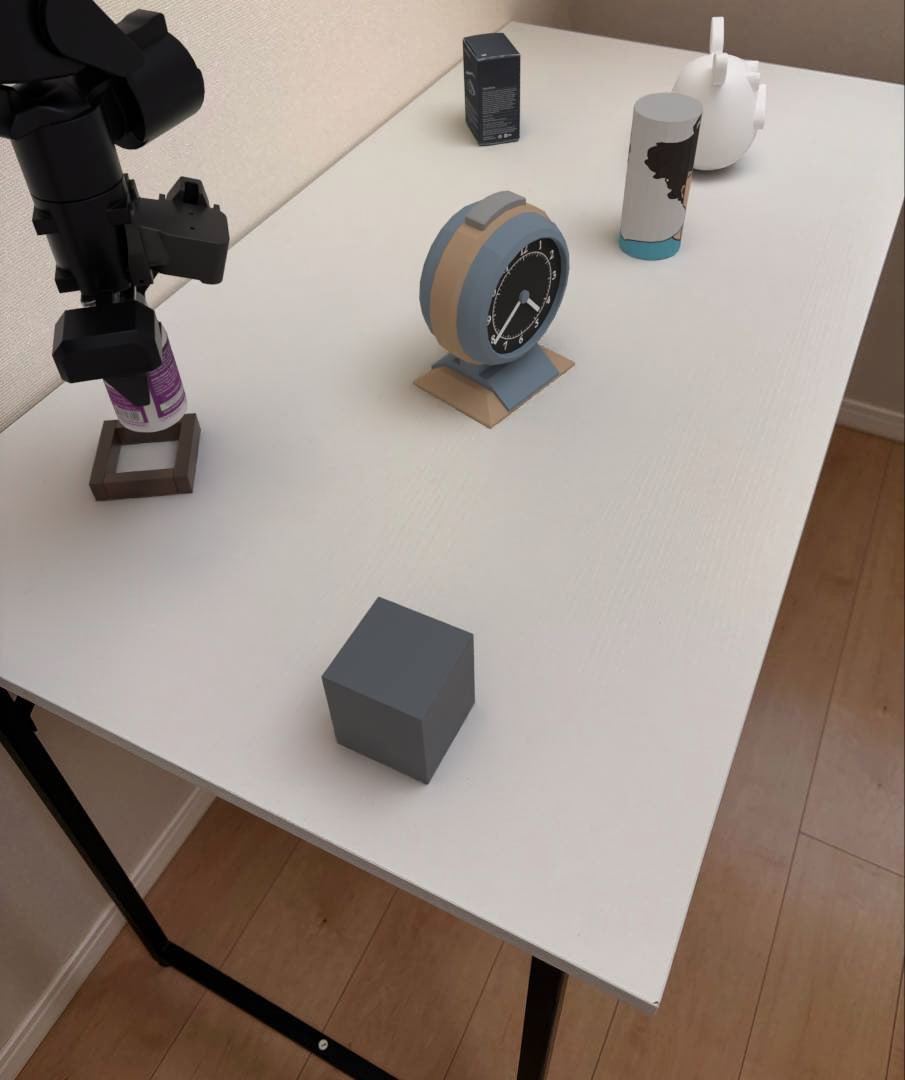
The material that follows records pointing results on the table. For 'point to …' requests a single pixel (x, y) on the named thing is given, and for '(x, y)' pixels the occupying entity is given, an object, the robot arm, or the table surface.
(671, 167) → the white cylinder
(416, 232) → the table surface
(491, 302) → the alarm clock
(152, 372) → the pill bottle
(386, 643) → the block
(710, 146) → the piggy bank
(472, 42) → the box
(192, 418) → the holder
